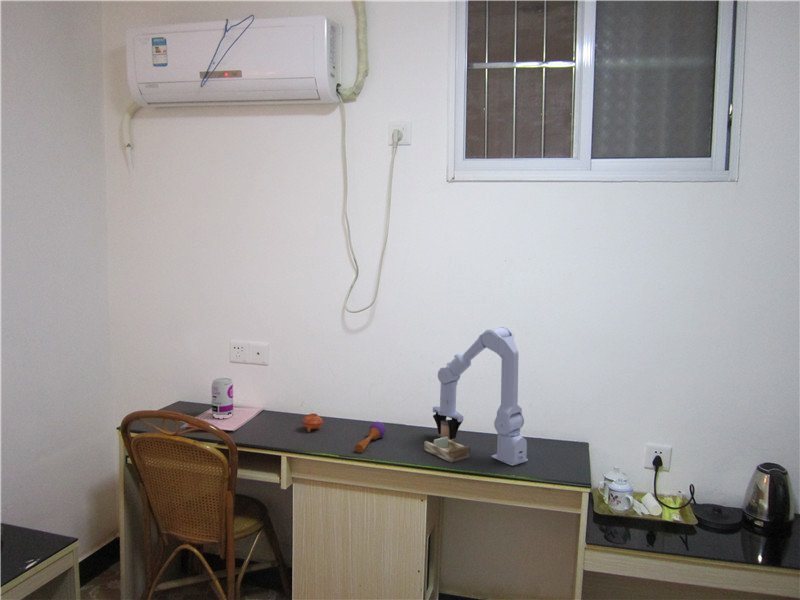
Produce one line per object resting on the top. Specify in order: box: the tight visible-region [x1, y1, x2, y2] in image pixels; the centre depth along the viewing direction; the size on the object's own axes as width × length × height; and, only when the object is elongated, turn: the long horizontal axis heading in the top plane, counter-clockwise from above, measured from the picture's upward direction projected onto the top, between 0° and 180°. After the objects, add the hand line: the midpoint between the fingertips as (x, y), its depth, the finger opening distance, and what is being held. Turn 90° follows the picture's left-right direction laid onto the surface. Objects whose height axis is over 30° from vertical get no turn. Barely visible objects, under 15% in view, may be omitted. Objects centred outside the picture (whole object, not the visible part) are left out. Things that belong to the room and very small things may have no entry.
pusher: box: [433, 437, 448, 448], centre depth 201 cm, size 1×6×3 cm, turn 127°
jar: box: [440, 419, 454, 442], centre depth 212 cm, size 5×5×7 cm
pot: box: [301, 412, 324, 433], centre depth 220 cm, size 8×8×7 cm
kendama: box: [354, 421, 387, 454], centre depth 207 cm, size 6×6×20 cm
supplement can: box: [211, 377, 234, 415], centre depth 233 cm, size 8×8×15 cm
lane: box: [423, 436, 471, 463], centre depth 199 cm, size 14×8×4 cm, turn 37°
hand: (447, 435), depth 212 cm, fingers open, 6 cm apart
